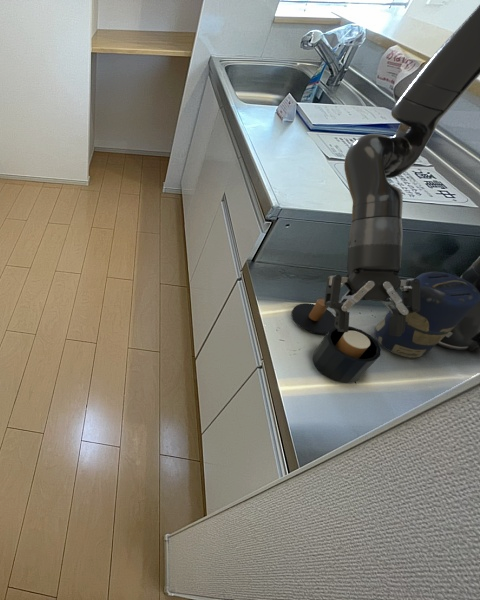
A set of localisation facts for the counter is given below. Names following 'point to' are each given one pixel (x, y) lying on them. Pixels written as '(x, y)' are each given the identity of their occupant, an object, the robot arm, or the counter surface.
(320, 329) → the lid
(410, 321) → the canister
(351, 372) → the cup
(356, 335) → the cylinder
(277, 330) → the counter surface
